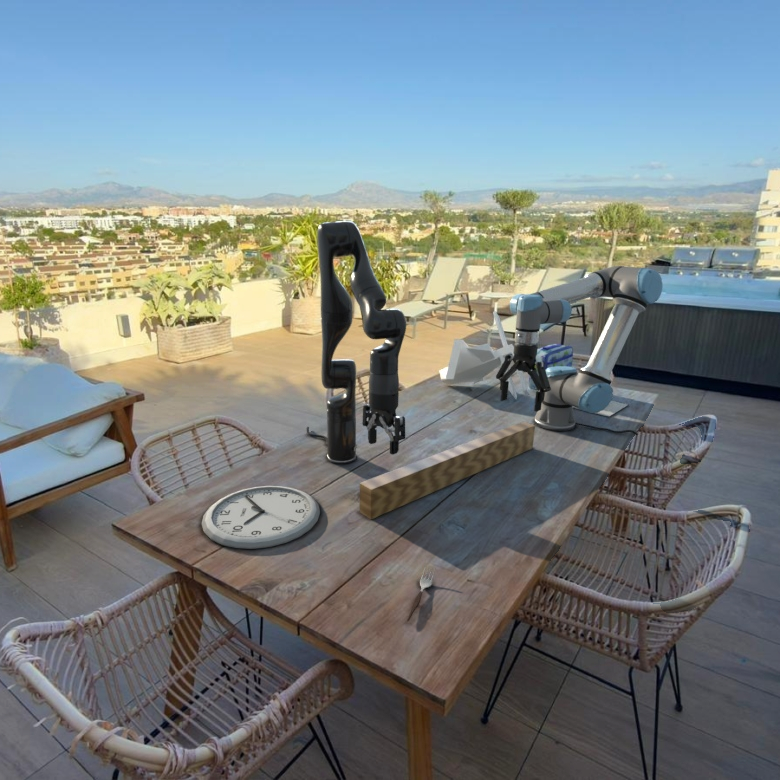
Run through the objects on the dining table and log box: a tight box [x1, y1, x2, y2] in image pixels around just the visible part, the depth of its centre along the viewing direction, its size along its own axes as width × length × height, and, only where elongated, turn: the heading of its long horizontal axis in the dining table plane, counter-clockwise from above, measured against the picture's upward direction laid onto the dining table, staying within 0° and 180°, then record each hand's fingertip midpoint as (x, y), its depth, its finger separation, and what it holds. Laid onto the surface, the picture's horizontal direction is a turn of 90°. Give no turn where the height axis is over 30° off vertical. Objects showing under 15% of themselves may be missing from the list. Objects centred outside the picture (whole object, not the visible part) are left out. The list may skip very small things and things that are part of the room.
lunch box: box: [528, 343, 574, 391], centre depth 248 cm, size 26×11×21 cm, turn 134°
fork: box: [406, 565, 436, 622], centre depth 107 cm, size 3×16×2 cm, turn 160°
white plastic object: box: [438, 310, 531, 400], centre depth 245 cm, size 37×45×31 cm
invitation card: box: [573, 400, 629, 418], centre depth 226 cm, size 21×1×15 cm
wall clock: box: [201, 485, 321, 550], centre depth 137 cm, size 30×2×30 cm
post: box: [359, 421, 536, 520], centre depth 160 cm, size 73×5×9 cm, turn 131°
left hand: (382, 448), depth 136 cm, fingers open, 8 cm apart
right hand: (520, 405), depth 176 cm, fingers open, 13 cm apart
